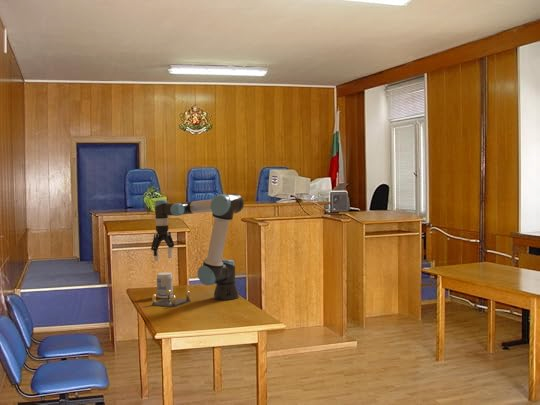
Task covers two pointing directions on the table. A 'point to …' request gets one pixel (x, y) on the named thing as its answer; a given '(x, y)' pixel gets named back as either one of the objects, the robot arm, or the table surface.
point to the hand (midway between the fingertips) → (163, 259)
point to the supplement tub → (164, 284)
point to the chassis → (171, 300)
